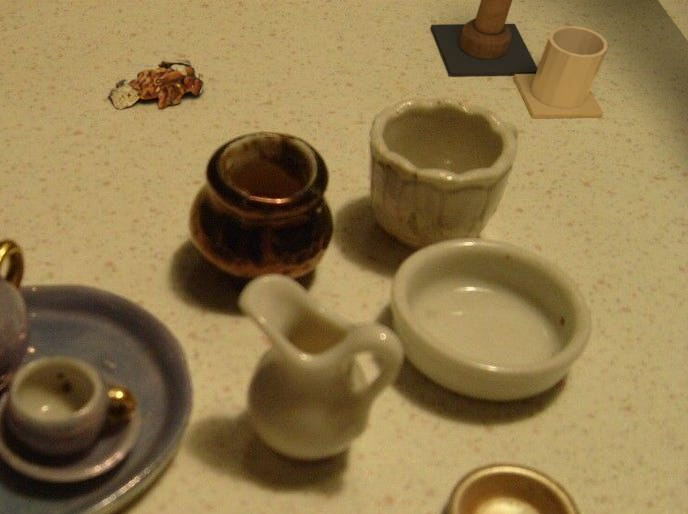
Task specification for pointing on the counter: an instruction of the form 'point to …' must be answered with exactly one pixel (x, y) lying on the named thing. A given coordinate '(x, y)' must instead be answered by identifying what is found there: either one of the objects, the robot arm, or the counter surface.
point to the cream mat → (544, 111)
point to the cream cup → (568, 67)
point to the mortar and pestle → (487, 31)
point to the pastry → (158, 85)
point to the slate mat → (466, 65)
